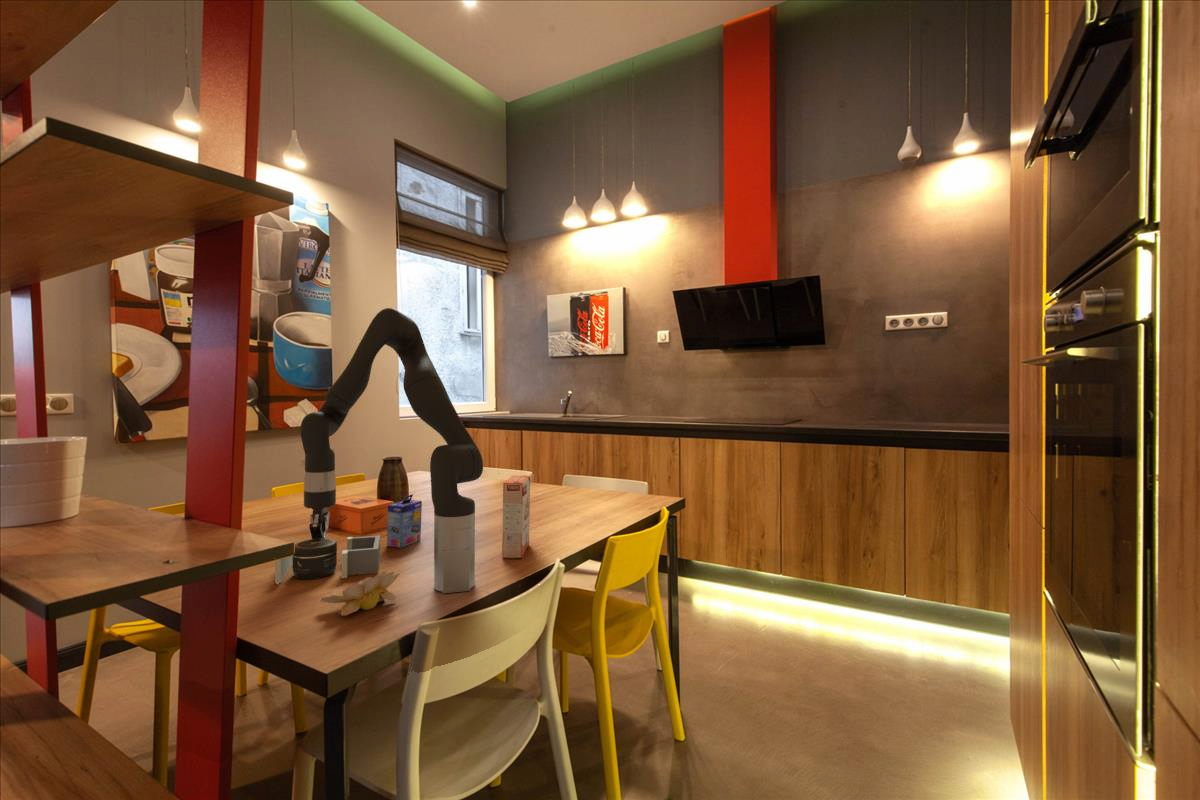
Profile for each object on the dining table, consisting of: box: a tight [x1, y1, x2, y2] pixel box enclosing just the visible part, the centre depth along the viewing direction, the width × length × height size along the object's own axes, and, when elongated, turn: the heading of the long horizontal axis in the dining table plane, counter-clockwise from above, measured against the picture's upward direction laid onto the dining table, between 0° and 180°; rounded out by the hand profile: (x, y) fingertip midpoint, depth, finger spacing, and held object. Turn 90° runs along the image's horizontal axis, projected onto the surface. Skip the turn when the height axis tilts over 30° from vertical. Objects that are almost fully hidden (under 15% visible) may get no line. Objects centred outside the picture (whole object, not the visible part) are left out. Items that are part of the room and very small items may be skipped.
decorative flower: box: [319, 570, 401, 616], centre depth 119 cm, size 15×11×10 cm
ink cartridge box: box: [386, 493, 423, 549], centre depth 168 cm, size 10×6×14 cm, turn 163°
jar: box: [291, 538, 338, 580], centre depth 140 cm, size 10×10×8 cm
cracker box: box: [501, 474, 531, 559], centre depth 160 cm, size 14×6×21 cm, turn 179°
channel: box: [274, 535, 381, 585], centre depth 143 cm, size 16×22×6 cm
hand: (319, 553), depth 148 cm, fingers closed
